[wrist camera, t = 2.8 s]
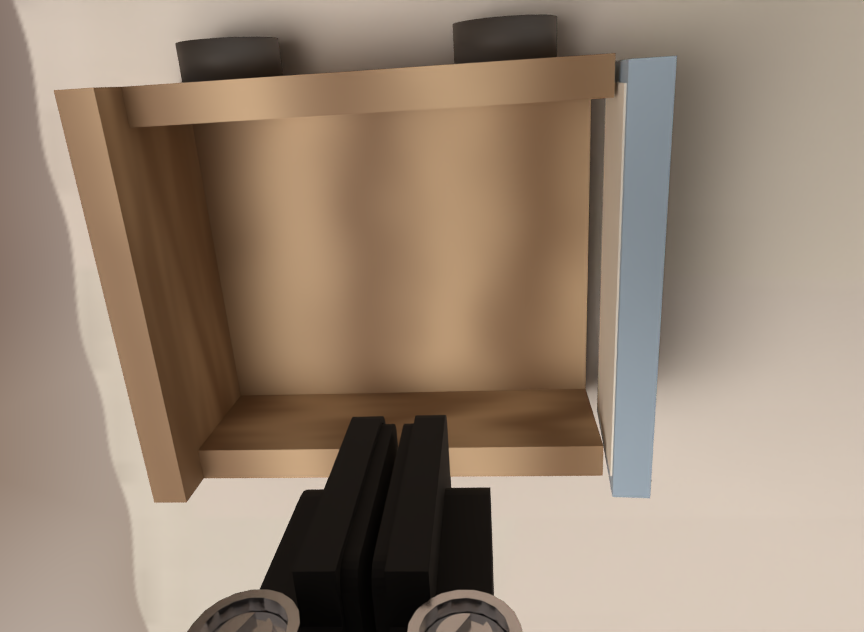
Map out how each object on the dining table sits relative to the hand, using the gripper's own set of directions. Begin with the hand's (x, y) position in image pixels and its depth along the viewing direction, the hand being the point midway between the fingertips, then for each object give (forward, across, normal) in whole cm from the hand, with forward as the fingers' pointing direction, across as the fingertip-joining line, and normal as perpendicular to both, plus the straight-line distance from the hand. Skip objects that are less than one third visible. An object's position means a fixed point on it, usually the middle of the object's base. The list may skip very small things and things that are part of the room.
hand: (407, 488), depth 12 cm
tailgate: (+15, -7, 0) cm, 16 cm away
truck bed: (+17, +2, 0) cm, 17 cm away
